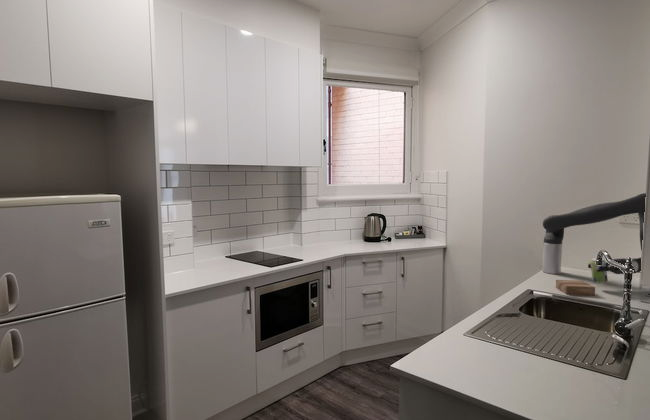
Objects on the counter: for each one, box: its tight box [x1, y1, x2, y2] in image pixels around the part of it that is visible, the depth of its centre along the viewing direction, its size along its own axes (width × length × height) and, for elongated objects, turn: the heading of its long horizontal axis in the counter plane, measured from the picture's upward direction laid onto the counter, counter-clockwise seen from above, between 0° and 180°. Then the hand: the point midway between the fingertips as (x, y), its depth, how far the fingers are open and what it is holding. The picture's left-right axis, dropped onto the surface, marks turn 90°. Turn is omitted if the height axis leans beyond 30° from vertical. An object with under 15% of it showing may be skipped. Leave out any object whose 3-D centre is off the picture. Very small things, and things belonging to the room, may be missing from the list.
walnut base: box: [555, 279, 596, 297], centre depth 184 cm, size 12×12×4 cm
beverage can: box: [590, 257, 608, 284], centre depth 187 cm, size 6×7×12 cm
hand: (594, 267), depth 187 cm, fingers closed on beverage can, 5 cm apart
